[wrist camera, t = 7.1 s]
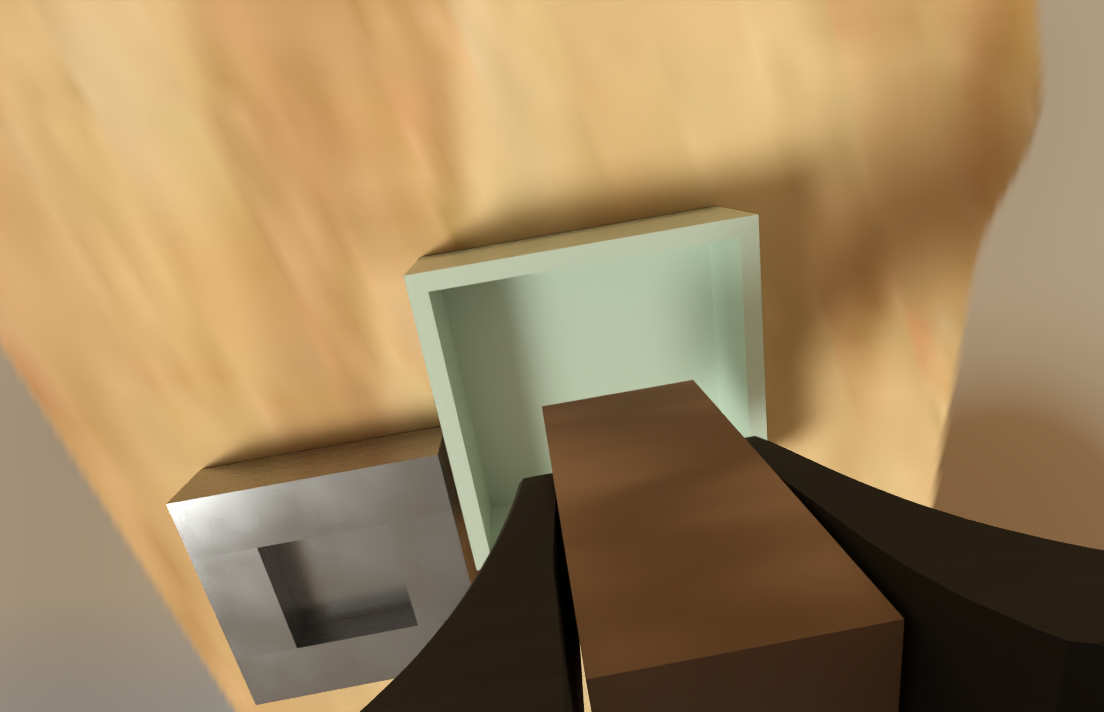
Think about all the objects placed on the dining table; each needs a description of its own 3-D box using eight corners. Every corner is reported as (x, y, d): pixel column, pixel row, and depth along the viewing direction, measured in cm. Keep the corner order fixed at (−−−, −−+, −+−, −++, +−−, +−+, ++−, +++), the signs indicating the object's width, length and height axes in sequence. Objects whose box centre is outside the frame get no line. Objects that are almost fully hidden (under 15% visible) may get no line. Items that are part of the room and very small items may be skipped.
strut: (693, 379, 13) (904, 618, 6) (703, 509, 14) (890, 832, 7) (541, 406, 12) (585, 679, 6) (564, 534, 14) (622, 885, 7)
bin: (732, 465, 20) (770, 515, 17) (480, 512, 20) (476, 570, 17) (716, 206, 17) (758, 214, 14) (420, 257, 17) (403, 275, 14)
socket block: (491, 616, 21) (490, 660, 19) (278, 656, 21) (255, 704, 19) (444, 425, 19) (437, 454, 17) (200, 469, 18) (165, 504, 17)
